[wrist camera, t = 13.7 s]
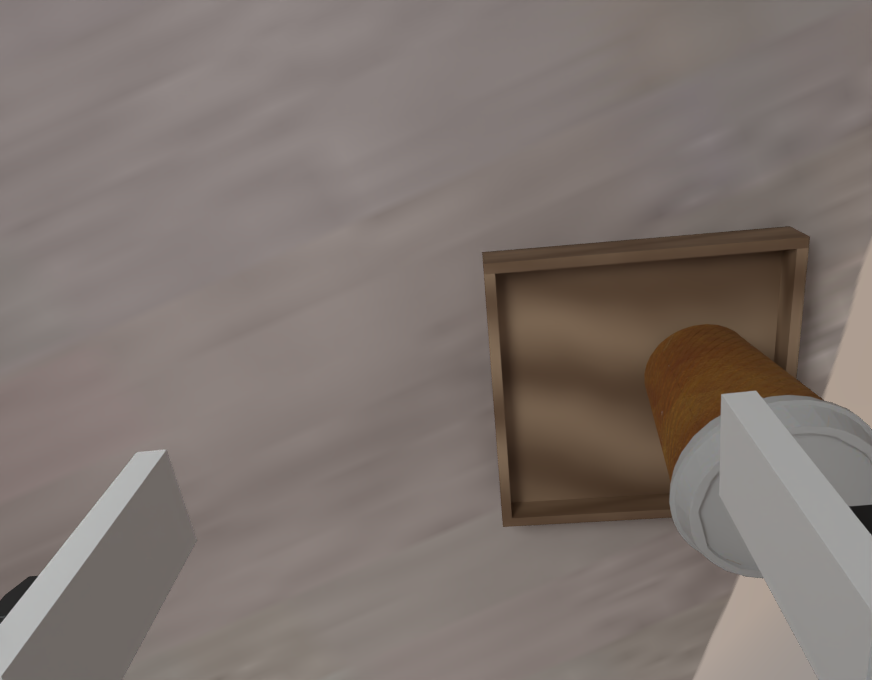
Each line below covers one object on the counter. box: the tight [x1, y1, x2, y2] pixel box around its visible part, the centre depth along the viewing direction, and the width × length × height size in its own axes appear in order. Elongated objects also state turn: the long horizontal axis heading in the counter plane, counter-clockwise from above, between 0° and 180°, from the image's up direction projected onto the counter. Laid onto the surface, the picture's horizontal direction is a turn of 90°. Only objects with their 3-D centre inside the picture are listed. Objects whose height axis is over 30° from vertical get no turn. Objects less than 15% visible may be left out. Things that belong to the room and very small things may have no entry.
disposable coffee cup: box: [644, 324, 872, 578], centre depth 37 cm, size 10×10×12 cm
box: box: [482, 226, 810, 527], centre depth 42 cm, size 17×17×2 cm
